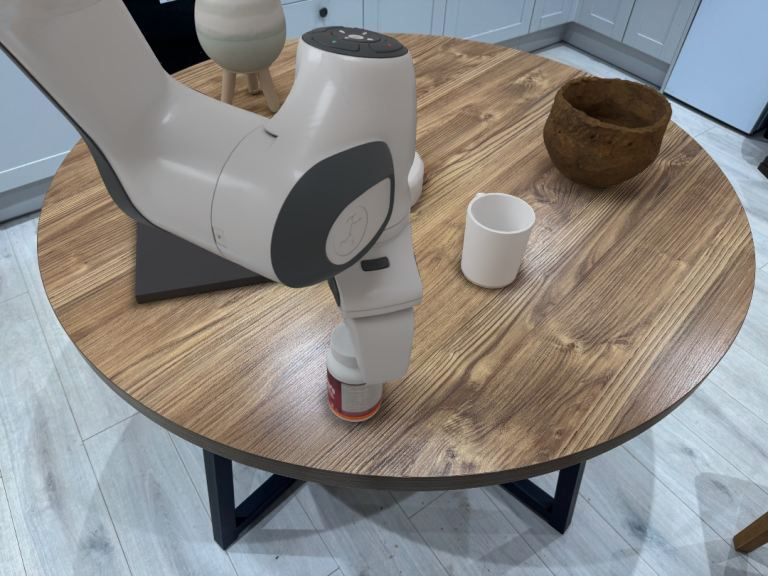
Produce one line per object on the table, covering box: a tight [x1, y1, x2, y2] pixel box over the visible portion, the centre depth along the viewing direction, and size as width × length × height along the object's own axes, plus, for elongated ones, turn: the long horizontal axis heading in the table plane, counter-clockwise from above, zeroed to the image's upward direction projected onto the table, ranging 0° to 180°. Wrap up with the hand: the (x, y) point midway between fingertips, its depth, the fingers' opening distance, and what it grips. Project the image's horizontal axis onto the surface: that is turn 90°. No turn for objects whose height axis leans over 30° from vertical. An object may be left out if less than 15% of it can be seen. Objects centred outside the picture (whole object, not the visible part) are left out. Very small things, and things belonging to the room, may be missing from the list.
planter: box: [194, 0, 287, 114], centre depth 107 cm, size 16×16×22 cm
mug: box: [460, 192, 536, 290], centre depth 79 cm, size 11×9×10 cm
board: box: [134, 221, 274, 304], centre depth 84 cm, size 24×20×2 cm
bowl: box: [542, 75, 673, 188], centre depth 95 cm, size 19×19×15 cm
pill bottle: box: [325, 321, 384, 423], centre depth 61 cm, size 6×6×11 cm
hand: (356, 334), depth 58 cm, fingers open, 8 cm apart
